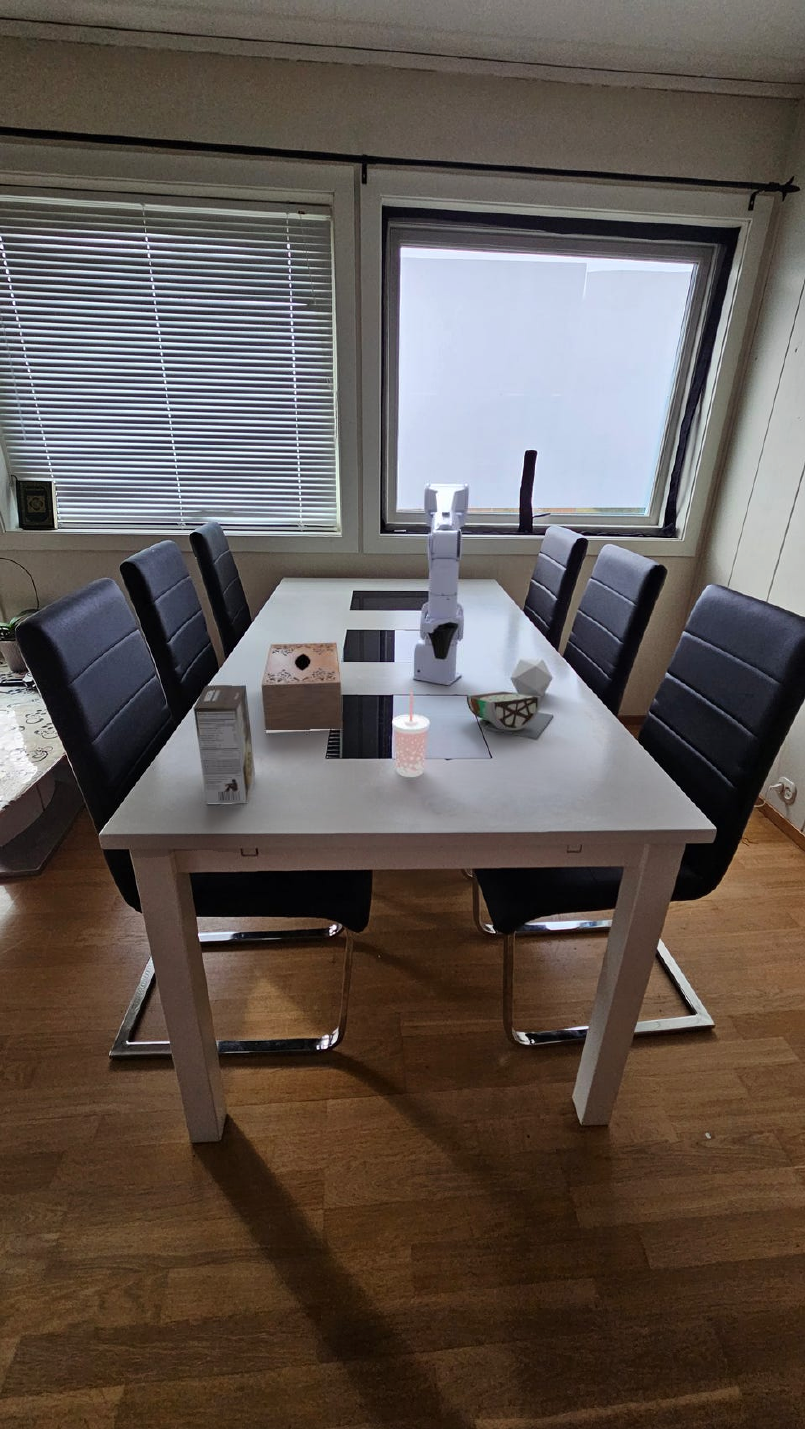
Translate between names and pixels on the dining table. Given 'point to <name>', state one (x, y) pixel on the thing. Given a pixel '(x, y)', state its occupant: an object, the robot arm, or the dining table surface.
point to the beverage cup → (410, 742)
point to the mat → (528, 726)
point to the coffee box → (225, 743)
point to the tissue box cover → (302, 687)
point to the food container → (505, 709)
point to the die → (531, 677)
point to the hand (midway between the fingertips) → (440, 658)
